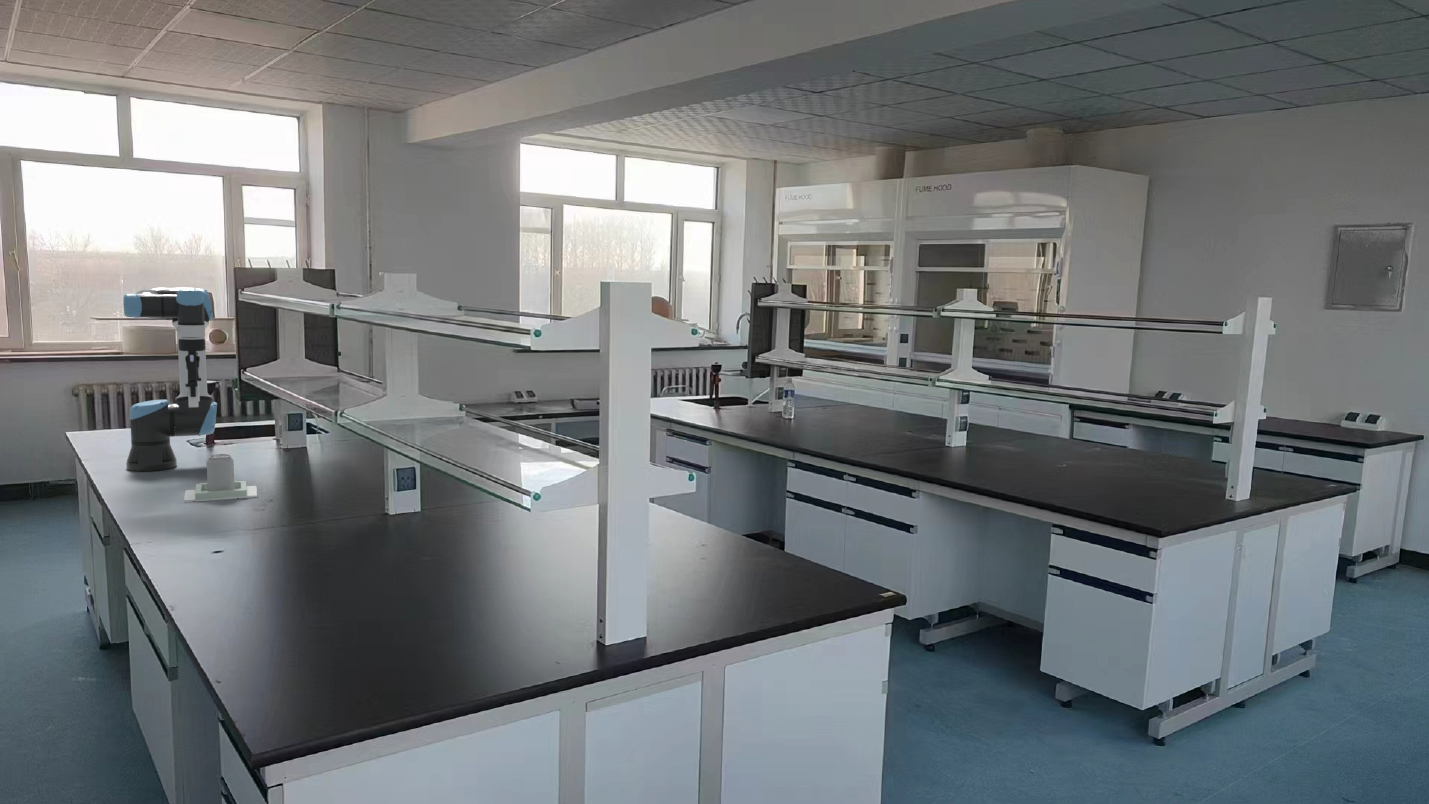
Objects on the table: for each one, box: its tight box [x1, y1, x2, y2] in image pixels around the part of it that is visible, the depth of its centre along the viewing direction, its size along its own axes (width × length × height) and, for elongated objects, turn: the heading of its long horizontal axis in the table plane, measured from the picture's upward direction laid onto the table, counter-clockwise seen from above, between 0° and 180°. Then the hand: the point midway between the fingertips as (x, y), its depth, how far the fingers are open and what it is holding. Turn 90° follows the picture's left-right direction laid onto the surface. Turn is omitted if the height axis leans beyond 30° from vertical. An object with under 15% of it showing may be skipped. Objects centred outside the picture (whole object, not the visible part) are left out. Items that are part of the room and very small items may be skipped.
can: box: [206, 453, 235, 492], centre depth 292 cm, size 8×8×12 cm
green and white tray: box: [183, 480, 258, 503], centre depth 293 cm, size 14×20×2 cm
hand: (194, 404), depth 300 cm, fingers open, 13 cm apart
